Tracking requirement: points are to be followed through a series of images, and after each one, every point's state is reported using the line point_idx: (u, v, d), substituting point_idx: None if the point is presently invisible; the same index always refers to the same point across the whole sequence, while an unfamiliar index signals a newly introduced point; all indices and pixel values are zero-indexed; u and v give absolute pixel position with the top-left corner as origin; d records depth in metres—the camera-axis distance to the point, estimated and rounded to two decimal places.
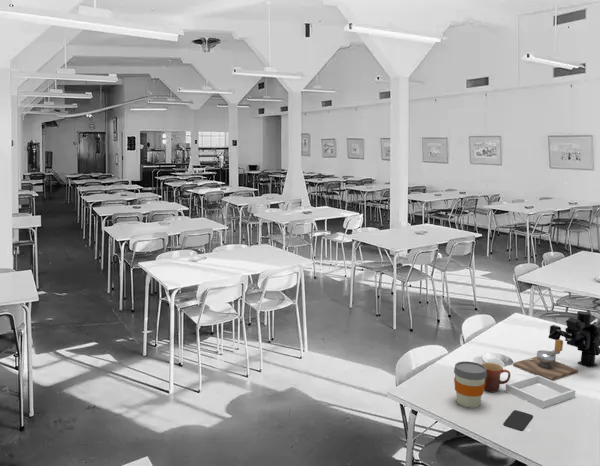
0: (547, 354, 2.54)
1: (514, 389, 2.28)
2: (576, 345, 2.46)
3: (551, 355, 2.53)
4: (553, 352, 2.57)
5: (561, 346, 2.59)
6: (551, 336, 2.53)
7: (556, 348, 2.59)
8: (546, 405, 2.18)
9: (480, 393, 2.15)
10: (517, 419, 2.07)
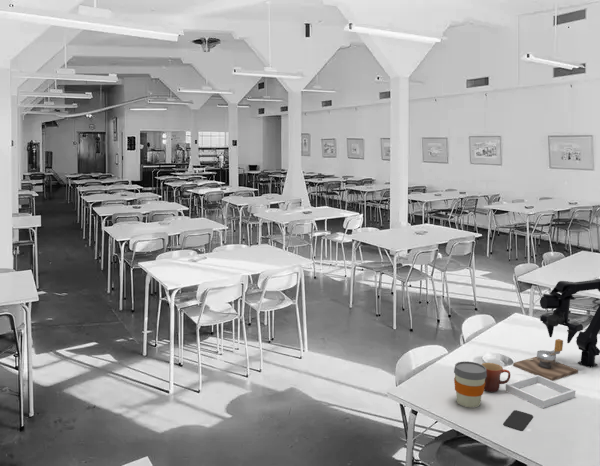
0: (547, 354, 2.54)
1: (514, 389, 2.28)
2: (574, 333, 2.54)
3: (551, 355, 2.53)
4: (553, 352, 2.57)
5: (561, 346, 2.59)
6: (551, 333, 2.63)
7: (556, 348, 2.59)
8: (546, 405, 2.18)
9: (480, 393, 2.15)
10: (517, 419, 2.07)
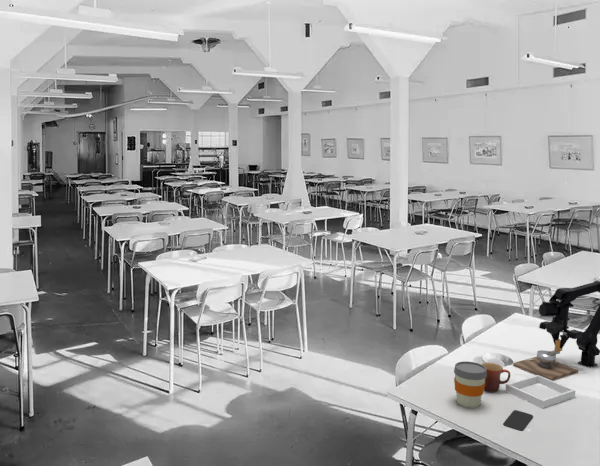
0: (547, 354, 2.54)
1: (514, 389, 2.28)
2: (567, 339, 2.57)
3: (551, 355, 2.53)
4: (553, 352, 2.57)
5: None
6: None
7: (556, 348, 2.59)
8: (546, 405, 2.18)
9: (480, 393, 2.15)
10: (517, 419, 2.07)
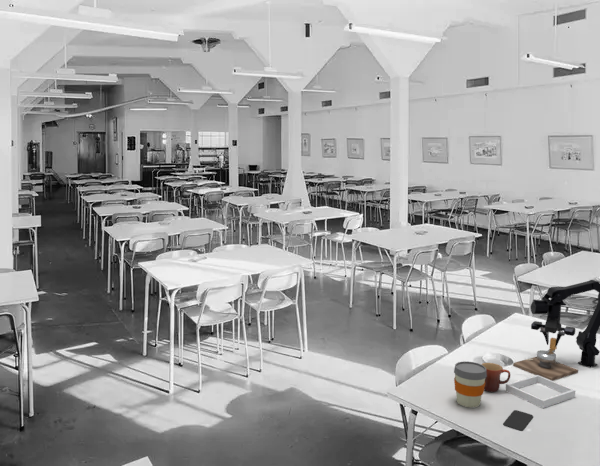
0: (548, 354, 2.54)
1: (514, 389, 2.28)
2: None
3: (552, 355, 2.53)
4: (551, 351, 2.58)
5: None
6: (548, 341, 2.63)
7: (551, 347, 2.61)
8: (546, 405, 2.18)
9: (480, 393, 2.15)
10: (517, 419, 2.07)
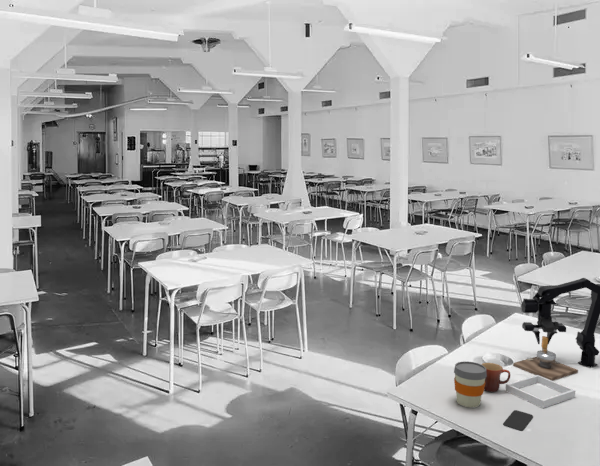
0: (549, 354, 2.54)
1: (514, 389, 2.28)
2: None
3: (552, 354, 2.54)
4: (547, 350, 2.59)
5: None
6: None
7: (544, 345, 2.63)
8: (546, 405, 2.18)
9: (480, 393, 2.15)
10: (517, 419, 2.07)
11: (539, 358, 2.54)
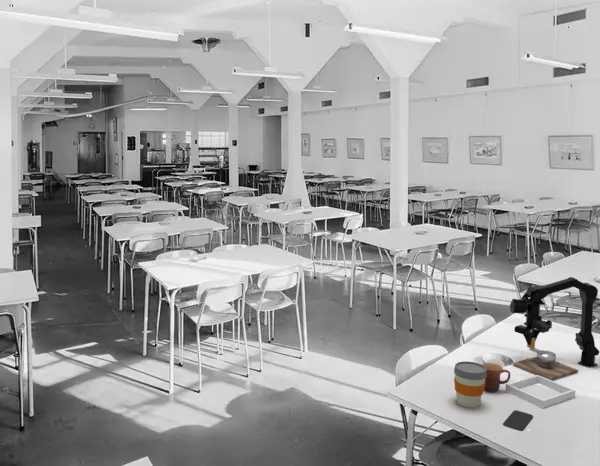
0: (549, 353, 2.55)
1: (514, 389, 2.28)
2: None
3: (550, 352, 2.56)
4: (540, 350, 2.59)
5: None
6: None
7: (532, 346, 2.62)
8: (546, 405, 2.18)
9: (480, 393, 2.15)
10: (517, 419, 2.07)
11: (545, 360, 2.52)
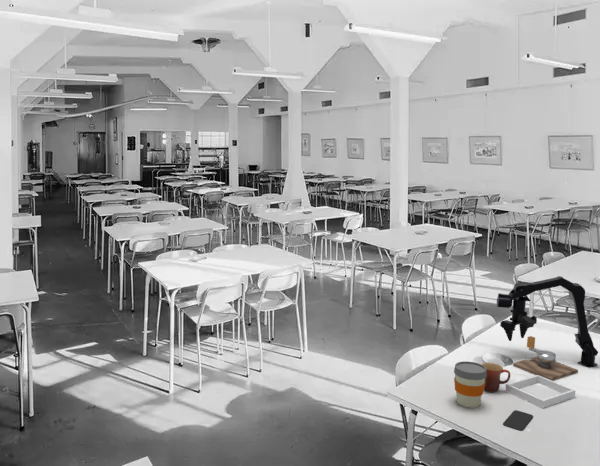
0: (549, 353, 2.55)
1: (514, 389, 2.28)
2: None
3: (550, 352, 2.57)
4: (540, 350, 2.59)
5: None
6: None
7: (532, 346, 2.62)
8: (546, 405, 2.18)
9: (480, 393, 2.15)
10: (517, 419, 2.07)
11: (546, 360, 2.52)
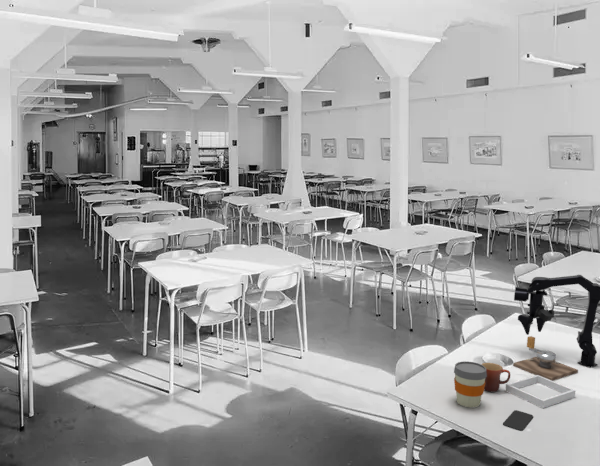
0: (549, 353, 2.55)
1: (514, 389, 2.28)
2: None
3: (550, 352, 2.57)
4: (540, 350, 2.59)
5: None
6: None
7: (532, 346, 2.62)
8: (546, 405, 2.18)
9: (480, 393, 2.15)
10: (517, 419, 2.07)
11: (546, 360, 2.52)
